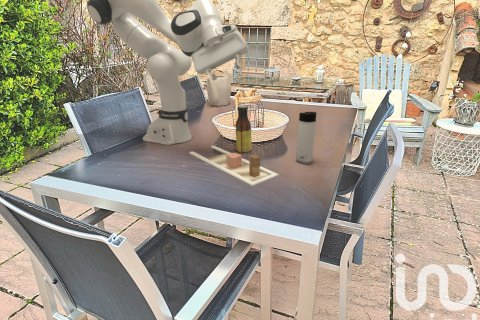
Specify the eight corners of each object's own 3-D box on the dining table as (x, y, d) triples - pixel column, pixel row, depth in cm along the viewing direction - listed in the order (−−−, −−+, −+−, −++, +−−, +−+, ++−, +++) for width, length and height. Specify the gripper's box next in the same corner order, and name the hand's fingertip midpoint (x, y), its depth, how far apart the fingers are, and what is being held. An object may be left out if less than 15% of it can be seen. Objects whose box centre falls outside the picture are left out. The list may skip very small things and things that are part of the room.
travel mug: (303, 166, 122) (307, 114, 115) (292, 160, 128) (296, 110, 120) (316, 163, 125) (321, 112, 117) (305, 157, 130) (309, 108, 123)
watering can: (198, 108, 207) (196, 78, 200) (217, 100, 230) (216, 72, 223) (219, 110, 202) (218, 79, 194) (237, 102, 224) (237, 74, 217)
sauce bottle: (253, 151, 136) (254, 105, 129) (248, 156, 131) (249, 108, 123) (238, 149, 138) (238, 103, 131) (233, 155, 133) (233, 107, 125)
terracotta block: (226, 165, 119) (226, 155, 118) (234, 162, 122) (234, 152, 120) (233, 168, 117) (233, 158, 115) (241, 165, 119) (241, 155, 118)
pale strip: (206, 161, 126) (205, 141, 123) (223, 156, 131) (222, 137, 127) (251, 184, 107) (251, 162, 104) (268, 177, 112) (269, 156, 109)
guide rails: (189, 156, 131) (189, 152, 130) (214, 149, 138) (213, 145, 137) (252, 190, 105) (252, 184, 104) (278, 179, 112) (278, 174, 111)
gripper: (186, 49, 115) (196, 82, 112) (237, 22, 110) (249, 56, 106) (194, 56, 121) (204, 89, 118) (243, 31, 115) (255, 64, 112)
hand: (226, 73), depth 112 cm, fingers open, 8 cm apart
